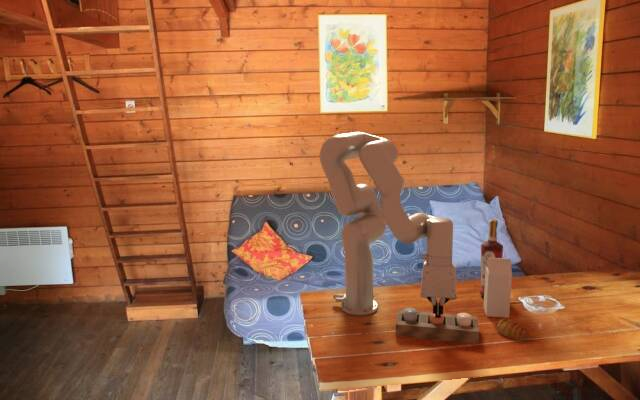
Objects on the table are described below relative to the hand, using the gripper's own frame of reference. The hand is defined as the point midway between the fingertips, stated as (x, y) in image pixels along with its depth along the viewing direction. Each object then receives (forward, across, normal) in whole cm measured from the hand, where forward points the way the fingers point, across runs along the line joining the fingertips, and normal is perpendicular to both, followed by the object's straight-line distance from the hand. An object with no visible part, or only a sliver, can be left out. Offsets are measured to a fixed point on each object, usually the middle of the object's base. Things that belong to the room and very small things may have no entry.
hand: (437, 315), depth 146 cm
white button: (+3, +8, 0) cm, 8 cm away
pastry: (+6, +22, +4) cm, 23 cm away
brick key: (+4, 0, 0) cm, 4 cm away
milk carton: (+6, +19, +17) cm, 26 cm away
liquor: (+6, +18, +30) cm, 35 cm away
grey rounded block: (+3, -8, 0) cm, 9 cm away
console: (+6, 0, 0) cm, 6 cm away
